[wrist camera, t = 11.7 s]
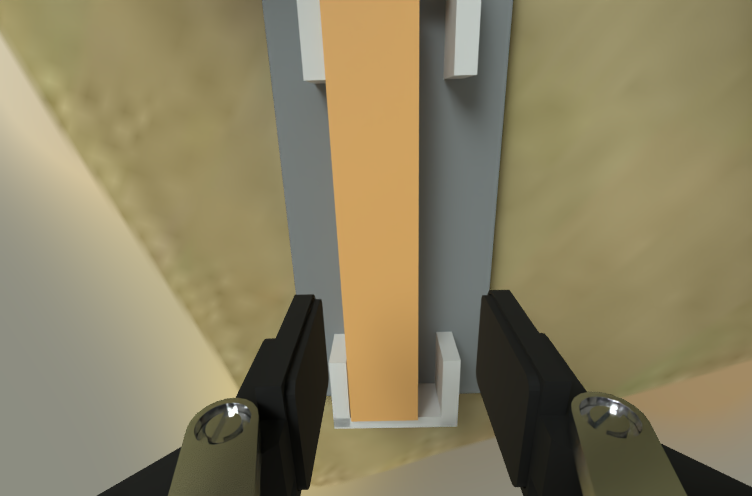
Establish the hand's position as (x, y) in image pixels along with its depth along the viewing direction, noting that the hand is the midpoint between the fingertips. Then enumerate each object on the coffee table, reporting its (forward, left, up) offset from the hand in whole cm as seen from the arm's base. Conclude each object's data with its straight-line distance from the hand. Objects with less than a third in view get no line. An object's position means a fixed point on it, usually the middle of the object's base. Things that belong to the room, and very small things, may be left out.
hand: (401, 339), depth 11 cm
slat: (0, -1, -12) cm, 12 cm away
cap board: (0, 0, -13) cm, 13 cm away
